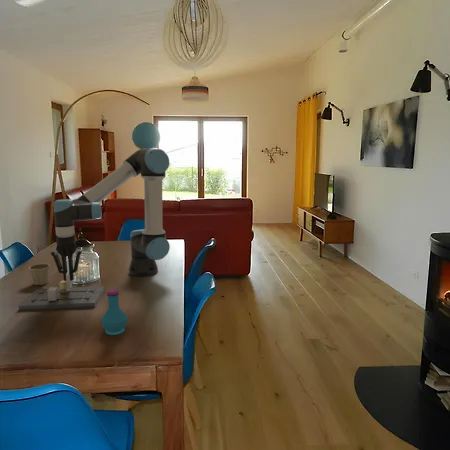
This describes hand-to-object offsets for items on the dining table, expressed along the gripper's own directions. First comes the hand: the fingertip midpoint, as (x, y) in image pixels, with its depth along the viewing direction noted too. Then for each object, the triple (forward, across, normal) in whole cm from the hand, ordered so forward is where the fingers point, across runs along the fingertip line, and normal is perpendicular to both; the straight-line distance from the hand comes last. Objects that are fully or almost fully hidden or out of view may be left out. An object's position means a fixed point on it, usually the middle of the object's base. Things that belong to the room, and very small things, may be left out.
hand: (69, 287), depth 175 cm
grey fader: (+2, +4, +9) cm, 10 cm away
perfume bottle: (+4, -26, +38) cm, 46 cm away
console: (+4, +1, +4) cm, 6 cm away
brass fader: (+2, +2, 0) cm, 3 cm away
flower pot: (+4, +19, -20) cm, 28 cm away
